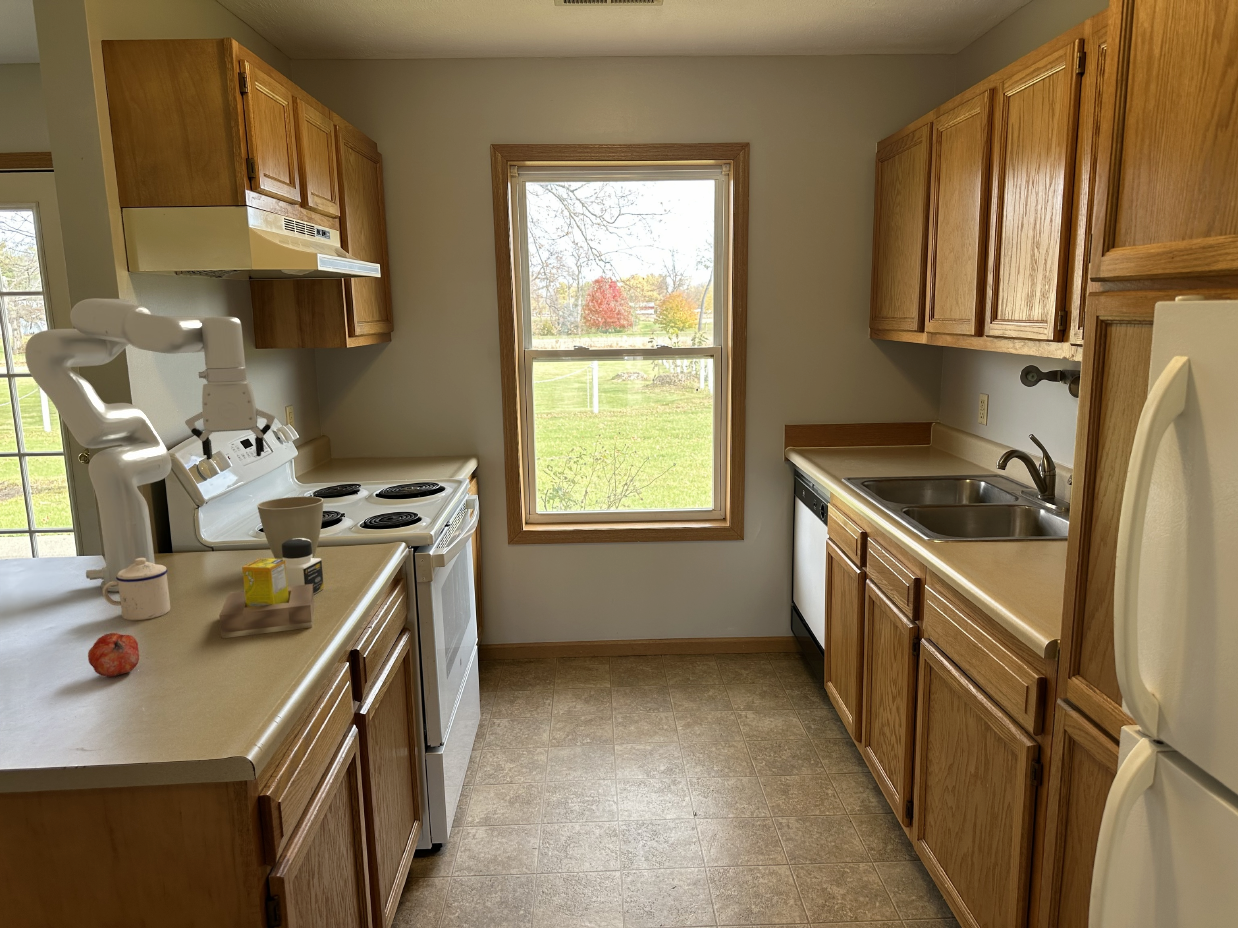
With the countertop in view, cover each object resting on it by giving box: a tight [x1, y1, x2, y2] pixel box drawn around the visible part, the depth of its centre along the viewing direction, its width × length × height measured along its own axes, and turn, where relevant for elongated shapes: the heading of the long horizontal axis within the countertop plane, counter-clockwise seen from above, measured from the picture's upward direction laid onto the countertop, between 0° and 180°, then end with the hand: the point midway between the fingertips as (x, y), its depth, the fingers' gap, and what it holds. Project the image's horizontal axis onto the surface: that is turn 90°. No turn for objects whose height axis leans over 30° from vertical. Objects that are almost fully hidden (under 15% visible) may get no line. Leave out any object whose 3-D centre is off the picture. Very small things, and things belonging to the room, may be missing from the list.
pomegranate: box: [87, 632, 140, 678], centre depth 141 cm, size 7×7×10 cm
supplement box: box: [241, 558, 289, 607], centre depth 164 cm, size 6×6×11 cm
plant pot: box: [256, 495, 324, 559], centre depth 201 cm, size 15×15×16 cm
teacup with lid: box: [102, 558, 171, 621], centre depth 170 cm, size 12×9×12 cm
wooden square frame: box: [219, 584, 315, 639], centre depth 165 cm, size 16×14×4 cm
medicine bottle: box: [282, 538, 325, 596], centre depth 181 cm, size 7×7×12 cm
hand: (234, 457), depth 177 cm, fingers open, 9 cm apart
